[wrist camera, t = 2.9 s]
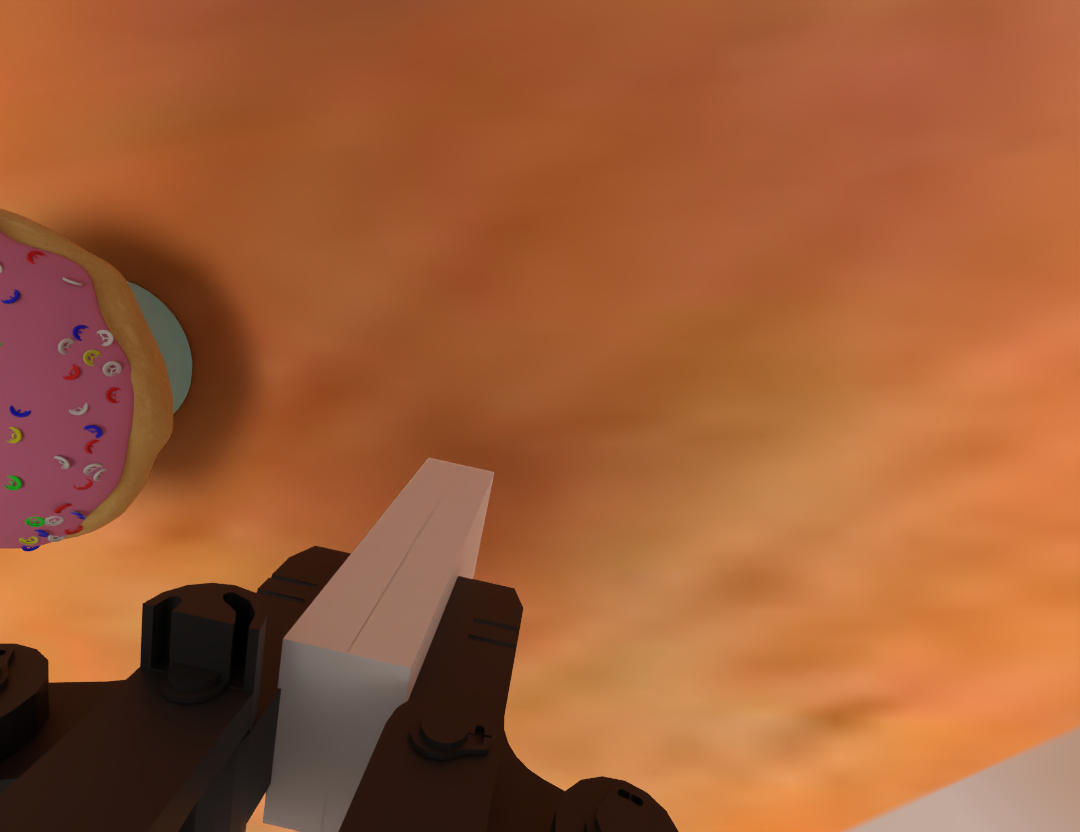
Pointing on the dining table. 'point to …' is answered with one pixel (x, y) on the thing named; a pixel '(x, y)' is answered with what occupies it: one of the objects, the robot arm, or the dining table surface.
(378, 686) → the robot arm
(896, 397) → the dining table surface
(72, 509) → the cupcake
